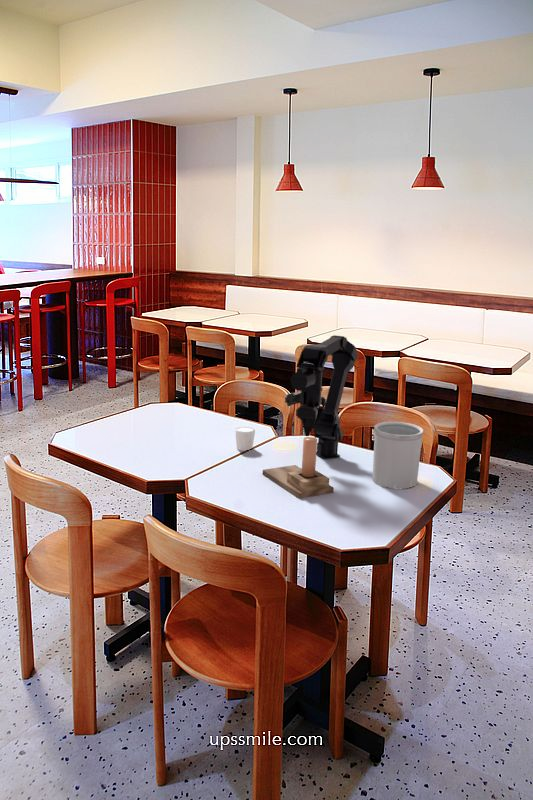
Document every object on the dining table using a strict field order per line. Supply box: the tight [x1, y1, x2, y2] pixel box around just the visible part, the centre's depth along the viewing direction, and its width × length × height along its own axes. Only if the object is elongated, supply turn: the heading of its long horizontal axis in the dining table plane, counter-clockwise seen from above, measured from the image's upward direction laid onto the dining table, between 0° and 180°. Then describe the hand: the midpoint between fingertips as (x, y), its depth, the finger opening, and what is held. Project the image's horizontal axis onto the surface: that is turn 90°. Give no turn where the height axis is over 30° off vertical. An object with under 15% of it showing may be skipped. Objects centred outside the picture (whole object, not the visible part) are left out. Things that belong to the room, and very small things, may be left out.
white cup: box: [235, 426, 256, 452], centre depth 239 cm, size 7×7×7 cm
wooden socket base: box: [262, 464, 335, 499], centre depth 207 cm, size 12×22×4 cm, turn 29°
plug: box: [301, 436, 318, 477], centre depth 200 cm, size 4×4×11 cm
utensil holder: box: [372, 421, 425, 490], centre depth 210 cm, size 15×15×18 cm
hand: (309, 432), depth 220 cm, fingers open, 9 cm apart
